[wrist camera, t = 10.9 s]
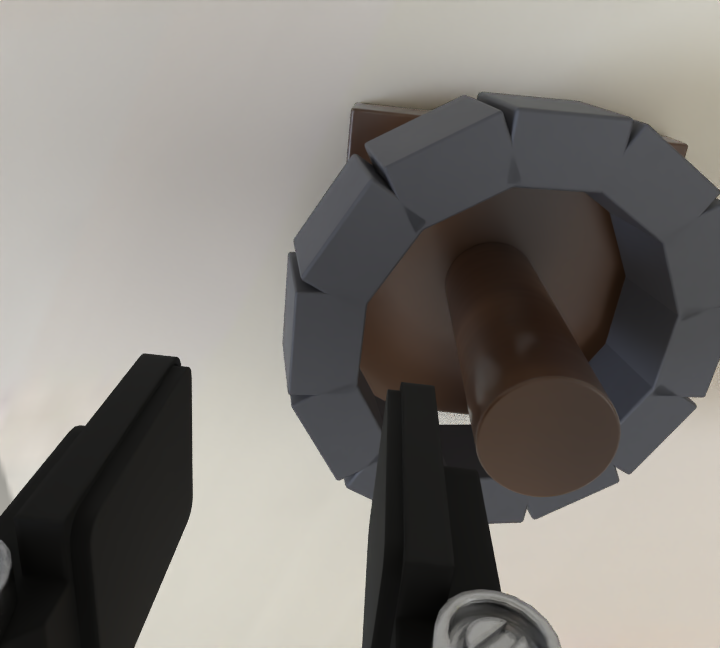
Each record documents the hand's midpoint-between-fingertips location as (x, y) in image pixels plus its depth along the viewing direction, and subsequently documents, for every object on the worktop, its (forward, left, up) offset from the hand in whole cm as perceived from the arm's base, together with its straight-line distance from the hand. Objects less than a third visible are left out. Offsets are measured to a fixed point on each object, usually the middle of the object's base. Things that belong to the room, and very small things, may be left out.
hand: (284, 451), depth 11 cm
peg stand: (+5, 0, -11) cm, 12 cm away
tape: (+4, 0, -8) cm, 9 cm away
